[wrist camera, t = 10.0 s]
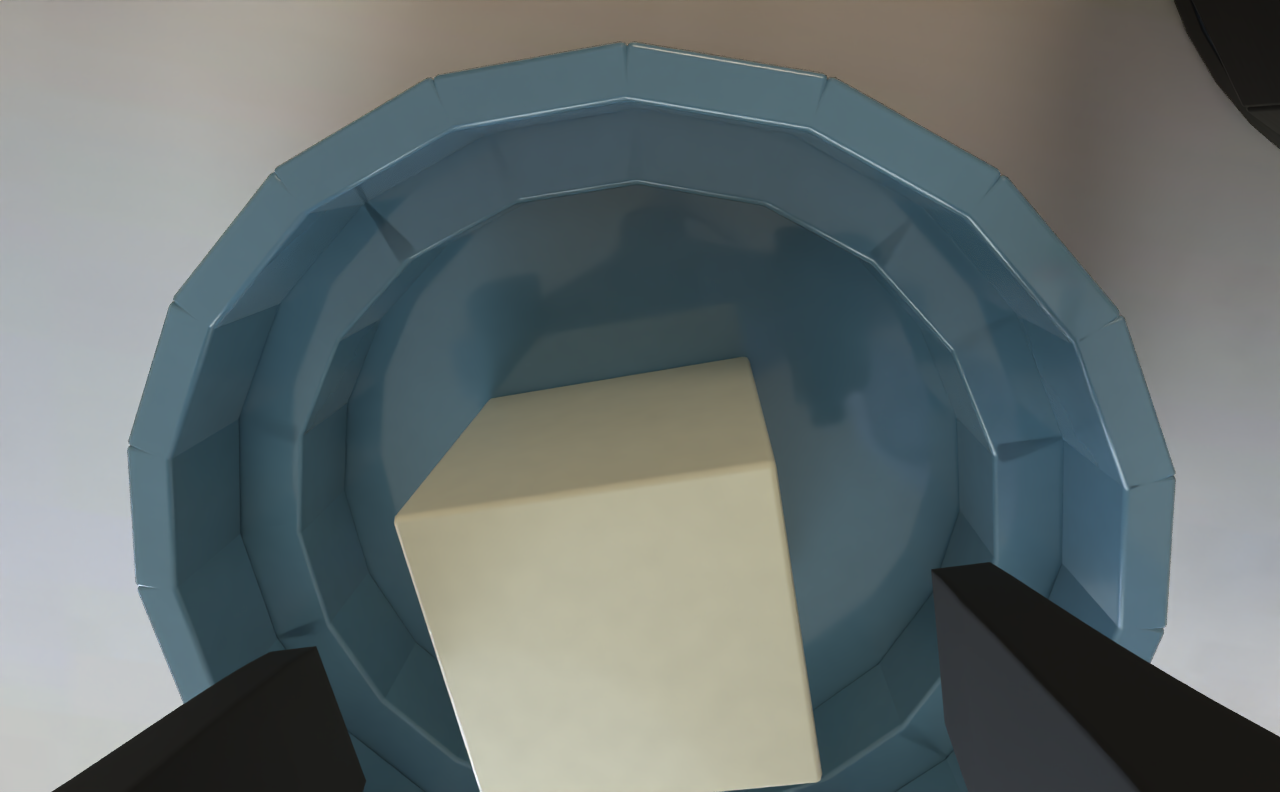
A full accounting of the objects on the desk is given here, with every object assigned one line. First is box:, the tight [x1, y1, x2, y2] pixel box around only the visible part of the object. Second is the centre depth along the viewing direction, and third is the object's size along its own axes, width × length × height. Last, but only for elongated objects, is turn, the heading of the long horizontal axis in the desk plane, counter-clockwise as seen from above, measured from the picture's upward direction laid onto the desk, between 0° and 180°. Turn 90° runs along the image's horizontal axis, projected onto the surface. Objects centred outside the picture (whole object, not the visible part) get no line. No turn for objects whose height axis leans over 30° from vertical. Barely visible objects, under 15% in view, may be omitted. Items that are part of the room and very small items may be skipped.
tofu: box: [394, 357, 822, 792], centre depth 11 cm, size 4×4×4 cm
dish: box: [127, 41, 1176, 792], centre depth 12 cm, size 14×14×4 cm
